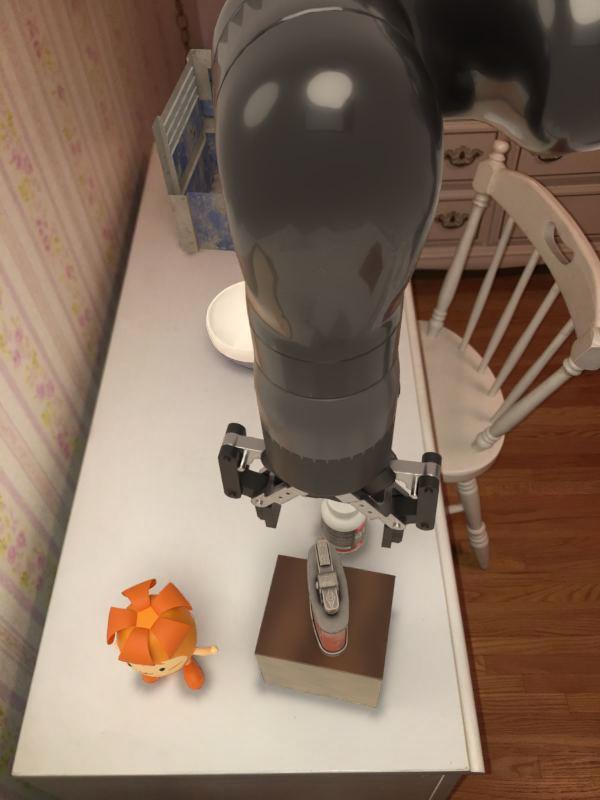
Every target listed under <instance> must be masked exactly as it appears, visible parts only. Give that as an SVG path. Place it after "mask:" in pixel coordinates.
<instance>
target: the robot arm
mask: <svg viewBox="0 0 600 800" xmlns="http://www.w3.org/2000/svg"><path fill="white" fill-rule="evenodd" d="M210 50H211V72H212V87H213V106H214V128H215V146H216V155H217V163H218V171H219V174H218V177H219V182H220V183H219V184H220V189H221V194H222V195H223V200H224V205H225V210H226V215H227V220H228V224H229V228H230V233H231V237H232V241H233V244H234V248H235V251H234V252H235V255H236V258H237V262H238V265H239V268H240V271H241V274H242V277H243V281H245V298H246V307H247V315H248V321H249V327H250V333H251V339H252V345H253V350H254V366H253V369H252V370H253V371H252V372H253V385H254V386H253V387H254V392H255V397H256V405H257V409H258V415H259V421H260V426H261V433H262V438H258V437H252V436H248V435H247V428H246V427H245V426H244V425H243V424H241V423H238V422H230V423H228V424H227V427H226V430H225V432H224V433H225V434H224V436H223V439H222V442H221V446H220V448H219V451H218V455H217V461H218V462H217V463H218V467H219V473H220V477H221V484H222V489H223V493H224V495H225V496H226V497H228V498H230V499H234V500H238V499H241V498H242V496H245V497H248V498H250V504H252V505H253V506H254V508H255V512H256V516H257V518H258V519H259V520H260V521H264V523H265V527H266V528H271V529H277V525H278V522H279V518H280V515H281V510H282V505H284V504H286V503H288V502H290V501H291V500H294V499H296V498H298V497H305V498H310V499H322V500H323V499H330V500H333V501H337V502H341V503H345V504H346V503H347V504H351V505H352V506H353V507H354V508H356V509H357V510H358V511H360V512H361V513H362V514H363V515H365V516H366V517H367V519H369V520H370V521H372V520H379V521H380V522H382V523H383V530H382V531H383V532H382V539H381V548H385V549H392V544H394V543H395V544H400V543H402V542H403V537H404V532H405V529H406V527H407V525H411V524H413V525H415V528H417V529H418V530H420V531H425V532H430V531H433V530H434V529H435V525H436V517H437V512H438V511H437V509H438V502H439V494H440V484H441V473H442V461H443V457H442V455H441V454H440V453H438V452H434V451H426V452H424V453H423V454H422V455H421V461H414V460H404V459H398V456H397V454H396V453H395V452H394V450H393V441H394V432H395V425H396V417H397V408H398V400H399V398H400V396H401V363H400V353H399V348H400V347H399V346H400V339H401V331H402V330H401V329H402V321H403V312H404V301H405V300H404V299H405V291H406V289H407V287H408V285H409V284H410V281H411V280H412V277H413V275H414V273H415V271H416V268H417V266H418V263H419V260H420V258H421V255H422V253H423V250H424V247H425V245H426V244H427V240H428V238H429V235H430V233H431V230H432V228H433V225H434V222H435V219H436V216H437V212H438V207H439V205H440V200H441V199H440V198H441V193H442V187H443V186H442V185H443V177H444V165H445V128H444V127H445V126H444V122H451V121H476V122H480V123H482V124H486V125H488V126H490V127H492V128H494V129H495V130H497V131H498V132H500V134H503V135H504V136H505V137H506V138H507V139H508V140H510V141H511V142H513V143H514V144H515V145H517V146H518V147H519V148H521V149H522V150H524V151H526V152H528V153H530V154H532V155H536V156H539V157H540V156H542V157H564V156H572V155H578V154H583V153H588V152H594V151H597V150H600V0H226V1H225V3H224V5H223V6H222V8H221V10H220V13H219V15H218V18H217V20H216V24H215V26H214V31H213V34H212V40H211V48H210ZM259 459H260V462H261V464H262V466H263V467H262V468H259V470H258V471H255V470H251V469H250V468H251V465H252V464H253V462H254V460H259ZM397 481H400V482H402V483H403V484H404V485H405V488H406V489H408V490H409V491H410V493H409V492H408V491H407V490H406V489H405V488H403V487H402V486H401V485H400V484H399V483H398V482H397Z"/></svg>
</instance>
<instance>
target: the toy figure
mask: <svg viewBox="0 0 600 800" xmlns="http://www.w3.org/2000/svg"><path fill="white" fill-rule="evenodd" d="M156 585H157V579H156V578H151V579H147V580H145V581H142V582H140V583H137V584H135V585H132V586H131V587H128V588H126V589H124V590H122V591H121V592H120V593H121V595H122V596H123V597H125V598H127V599H128V600H129V602H130V604H129V605H128V606H126V608H122V607H115V606H110V608H109V610H108V611H109V612H108V618H107V625H106V626H107V627H106V644H107V646H110V645H112V644H113V643H114V647H115V649H117V650H119V655H118V658H117V659H118V661H121V662H123V663H126V664H127V665H128V667H130V668H131V669H133V670H134V671H135V672H137V673H139V674H141V677H142V680H143V681H144V682H145V683H147V684H153V683H155V682H156V681H158V680H159V679H160V678H161V677H162V678H163V677H168V676H170V675H173V674H175V673H177V672H179V671H181V670H182V671H183V677H184V682H185V684H186V685H187V687H188V688H189V689H191V690H195V691H196V690H198V689H201V688H202V686H203V685H204V683H205V675H204V673H203V671H202V669H201V667H200V666H199V665H198V663H197V662H196V661H195V659H194V657H193V656H204V657H205V656H206V657H207V656H214V655H215V654H217V653H218V652H219V647H218V646H217V645H214V644H213V645H211V646H205V647H199V646H197V643H198V629H197V624H196V621H195V619H194V617H193V615H192V613H191V612H190V611H193V607H192V605H191V604H190V602H189V601H188V599H187V598H186V596H184V594H183V593H182V592H181V591H180V589H179V588H178V587H177V586H176V585H175V584H174V583H173V582H171V581H169V582H168V583H167V584H166V585H165V586H164V587H163V588H162V590H160V591H159V593H152V594H150V590H151V589H153V588H154V587H156ZM115 638H116V640H115ZM114 641H115V642H114ZM192 657H193V658H192Z"/></svg>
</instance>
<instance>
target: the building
mask: <svg viewBox="0 0 600 800" xmlns="http://www.w3.org/2000/svg"><path fill="white" fill-rule="evenodd" d="M185 60H186V64H185V67H184V68H183V70H182V72H181V75H180V76H179V78H178V80H177V83H176V84H175V87H174V88H173V91H172V93H171V95H170V97H169V99H168V101H167V102H166V105H165V107H164V108H163V111H162V112H161V115H156V116H155V119H154V121H153V123H152V125H151V130H152V134H153V138H154V143H155V146H156V151H157V155H158V159H159V163H160V167H161V170H162V174H163V179H164V182H165V187H166V191H167V196H168V199H169V203H170V207H171V210H172V211H171V212H172V215H173V219H174V223H175V227H176V231H177V235H178V239H179V244H180V248H181V251H182V252H188V253H199V252H200V250H213V251H214V250H215V251H228V252H230V251H231V252H235V248H234V244H233V241H232V237H231V233H230V228H229V224H228V220H227V215H226V210H225V205H224V200H223V195H222V193H215V192H211V190H212V187H213V185H214V181H215V180H214V175H219V171H218V163H217V155H216V146H215V128H214V106H213V87H212V72H211V49H207V48H206V49H204V48H203V49H201V48H199V49H198V48H190V49H189V51H188V53H187V55H186V59H185Z"/></svg>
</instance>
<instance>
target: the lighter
mask: <svg viewBox="0 0 600 800" xmlns="http://www.w3.org/2000/svg"><path fill="white" fill-rule="evenodd" d="M307 560H308V561H307V577H308V590H309V598H310V612H311V619H312V623H313V628H314V633H315V635H316V638H317V641H318V644H319V647H320V649H321V651H322V652H323V653H324V654H325V655H328V656H338V655H340V654H342V653H343V652H344V651H345V649H346V647H347V631H348V621H349V597H348V588H347V581H346V577H345V573H344V569H343V566H344V565H343V563H342V561H341V558H340V555H339V553H337V550H336V549H335V547H334V546H333V545H331V544H330V543H328V541H327V540H323V539H319V540H317V541H315V543H314V544H313V545H311V547H310V548H309V549H308V552H307Z"/></svg>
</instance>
